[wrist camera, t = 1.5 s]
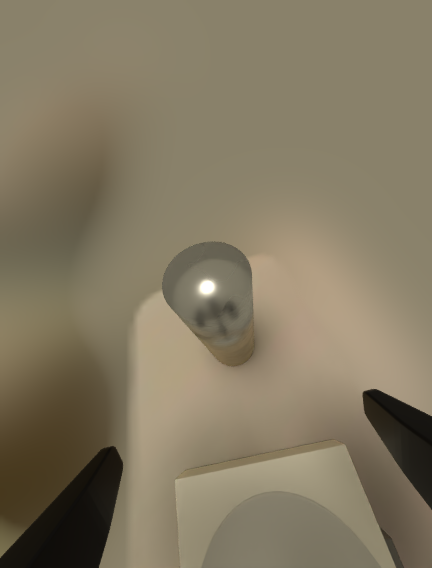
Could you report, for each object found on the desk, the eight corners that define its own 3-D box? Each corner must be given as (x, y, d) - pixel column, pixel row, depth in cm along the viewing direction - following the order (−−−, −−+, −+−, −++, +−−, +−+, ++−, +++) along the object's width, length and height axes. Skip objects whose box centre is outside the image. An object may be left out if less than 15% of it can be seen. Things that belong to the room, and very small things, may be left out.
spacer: (259, 360, 20) (264, 306, 9) (215, 370, 20) (164, 330, 9) (247, 318, 22) (238, 232, 11) (208, 328, 22) (160, 253, 11)
